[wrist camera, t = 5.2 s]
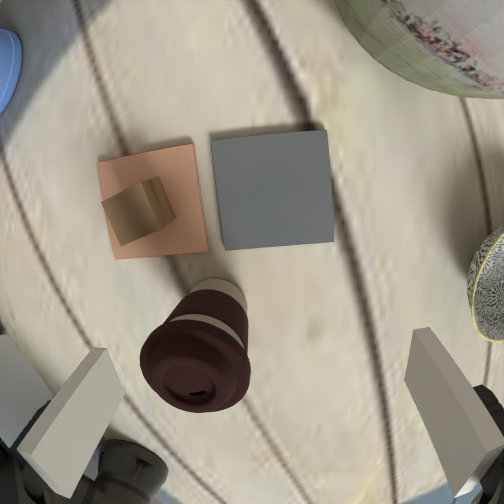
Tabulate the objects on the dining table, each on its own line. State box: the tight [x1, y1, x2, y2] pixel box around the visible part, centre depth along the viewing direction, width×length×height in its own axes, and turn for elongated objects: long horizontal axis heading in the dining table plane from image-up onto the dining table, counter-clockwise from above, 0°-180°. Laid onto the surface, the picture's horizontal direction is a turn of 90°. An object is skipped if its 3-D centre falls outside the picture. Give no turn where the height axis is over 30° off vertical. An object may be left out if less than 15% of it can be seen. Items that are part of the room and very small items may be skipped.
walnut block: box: [101, 177, 176, 246], centre depth 32 cm, size 5×5×5 cm
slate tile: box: [211, 130, 334, 250], centre depth 33 cm, size 12×12×1 cm
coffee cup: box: [140, 278, 251, 413], centre depth 31 cm, size 10×10×15 cm
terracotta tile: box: [97, 144, 209, 260], centre depth 34 cm, size 12×12×1 cm
